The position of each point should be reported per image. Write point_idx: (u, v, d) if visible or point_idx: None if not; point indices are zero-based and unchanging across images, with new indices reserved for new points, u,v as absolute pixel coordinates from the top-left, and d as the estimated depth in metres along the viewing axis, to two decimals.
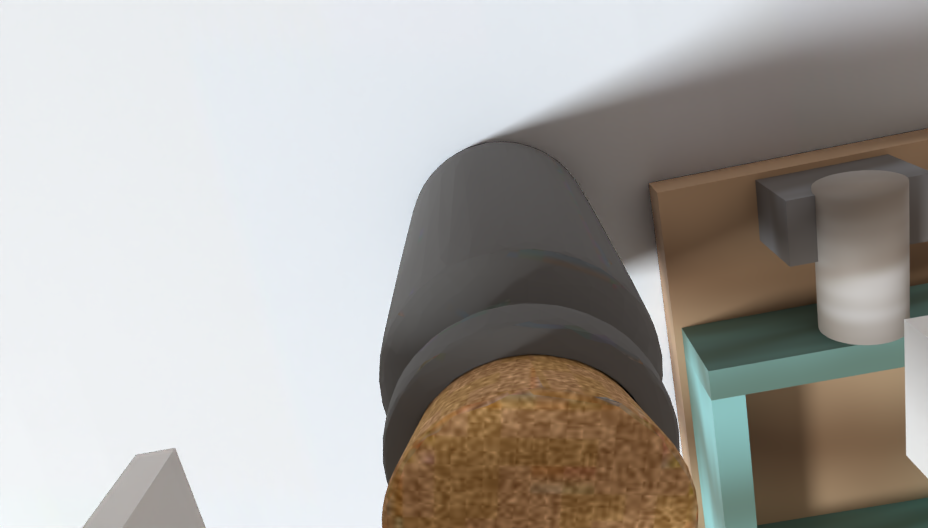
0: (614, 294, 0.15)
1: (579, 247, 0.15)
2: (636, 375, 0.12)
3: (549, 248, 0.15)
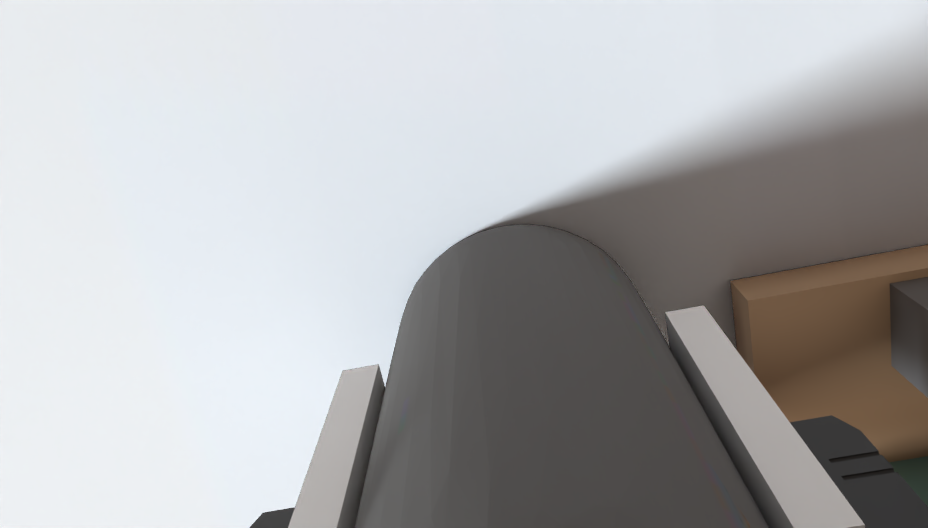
0: None
1: (693, 503, 0.08)
2: None
3: (643, 524, 0.08)
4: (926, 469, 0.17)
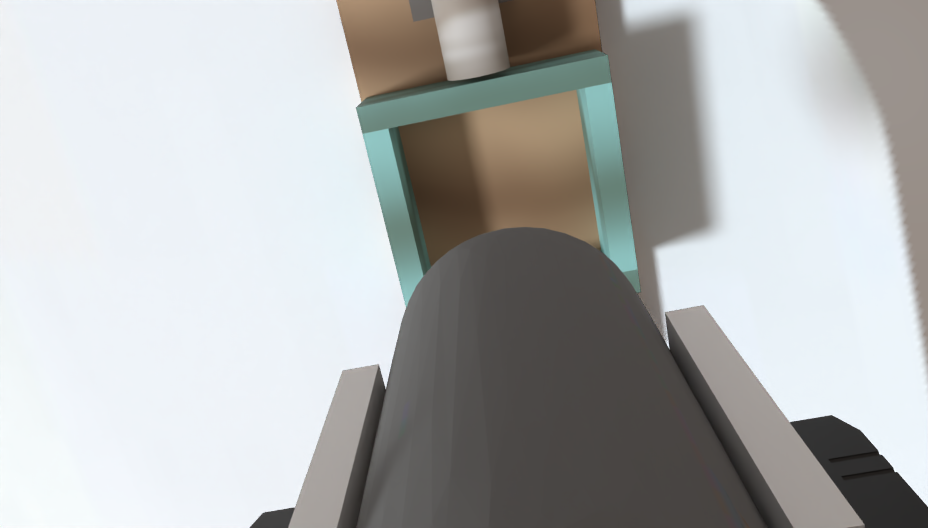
0: None
1: (694, 509, 0.08)
2: None
3: None
4: (443, 82, 0.31)
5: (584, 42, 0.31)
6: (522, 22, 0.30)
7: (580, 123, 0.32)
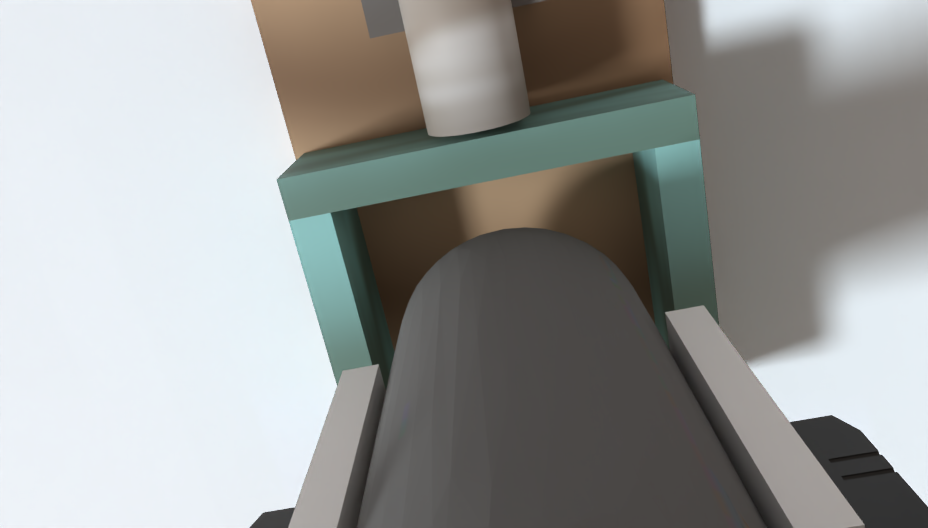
0: None
1: (694, 510, 0.08)
2: None
3: None
4: (422, 131, 0.20)
5: (645, 69, 0.19)
6: (548, 37, 0.19)
7: (636, 192, 0.20)
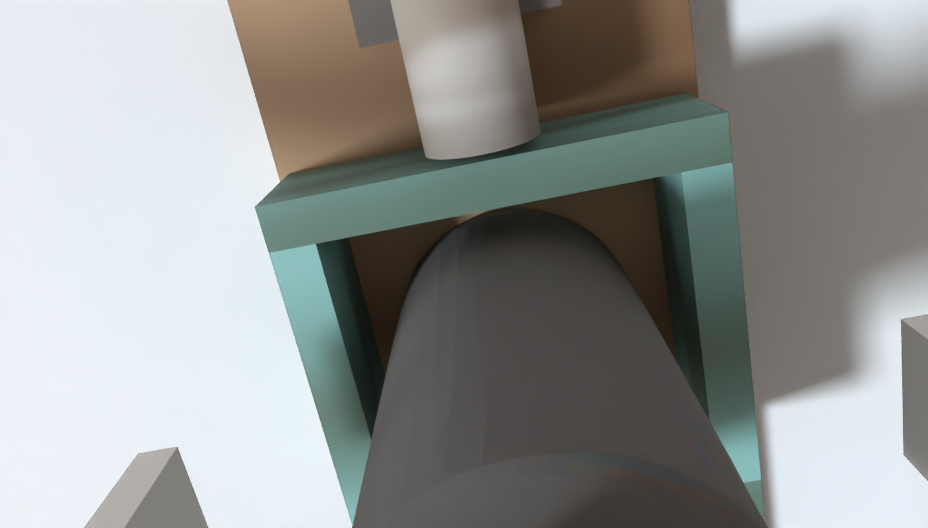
0: (728, 526, 0.09)
1: (662, 434, 0.09)
2: None
3: (617, 448, 0.09)
4: (420, 150, 0.18)
5: (668, 81, 0.17)
6: (559, 46, 0.17)
7: (656, 217, 0.19)
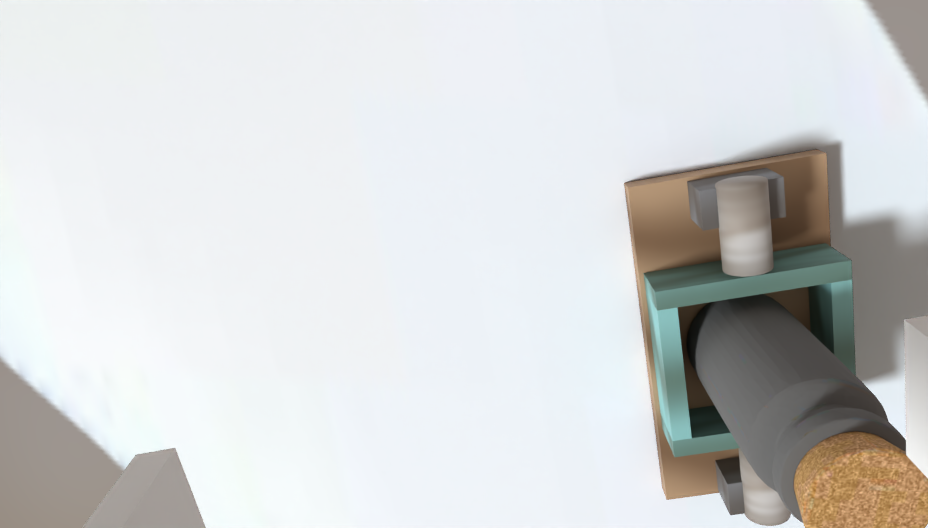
0: (871, 400, 0.31)
1: (849, 376, 0.32)
2: (899, 441, 0.29)
3: (840, 378, 0.31)
4: (707, 265, 0.40)
5: (817, 238, 0.40)
6: (771, 222, 0.40)
7: (807, 296, 0.41)
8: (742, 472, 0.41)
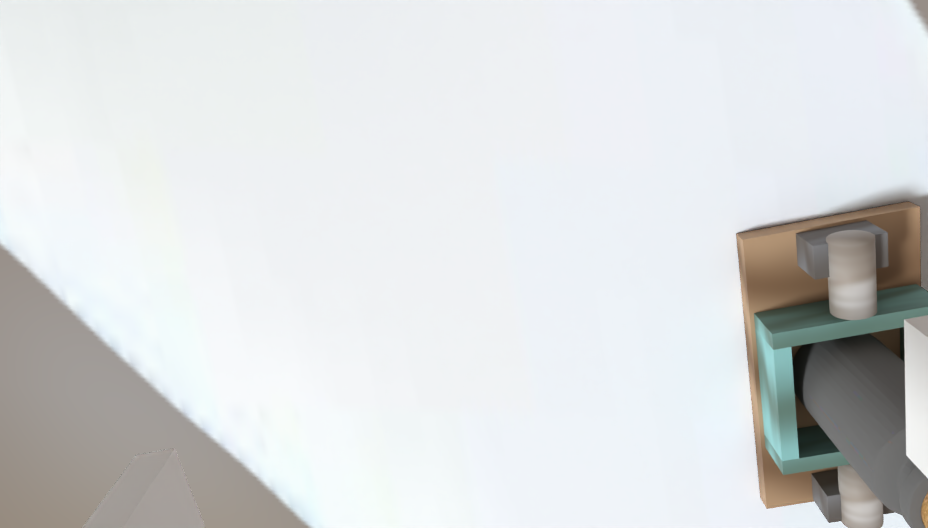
0: None
1: None
2: None
3: None
4: (811, 306, 0.45)
5: (909, 279, 0.45)
6: None
7: (899, 330, 0.46)
8: (841, 486, 0.47)
